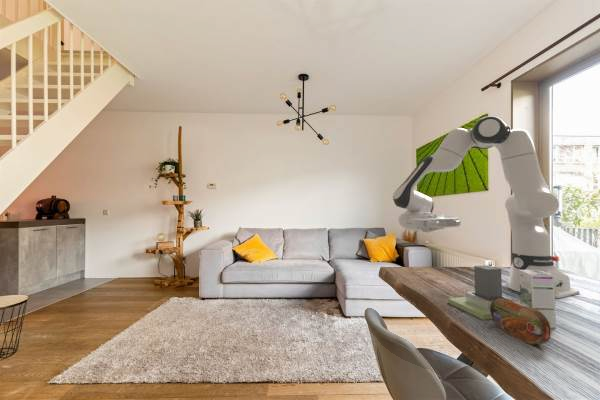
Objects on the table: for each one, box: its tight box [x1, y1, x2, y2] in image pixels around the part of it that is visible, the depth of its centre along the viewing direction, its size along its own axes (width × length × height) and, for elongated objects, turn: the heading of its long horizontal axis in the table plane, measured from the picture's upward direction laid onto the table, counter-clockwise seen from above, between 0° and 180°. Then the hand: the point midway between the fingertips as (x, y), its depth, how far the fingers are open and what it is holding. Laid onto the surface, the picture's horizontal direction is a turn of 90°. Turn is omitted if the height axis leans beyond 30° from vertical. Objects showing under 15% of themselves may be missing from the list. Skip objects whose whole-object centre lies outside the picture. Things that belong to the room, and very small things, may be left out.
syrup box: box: [519, 270, 557, 329], centre depth 76 cm, size 6×6×14 cm
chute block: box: [473, 264, 503, 300], centre depth 86 cm, size 5×5×12 cm
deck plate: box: [447, 291, 513, 321], centre depth 86 cm, size 16×14×4 cm
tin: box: [490, 298, 552, 345], centre depth 69 cm, size 15×3×8 cm, turn 5°
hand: (448, 223), depth 103 cm, fingers open, 8 cm apart
